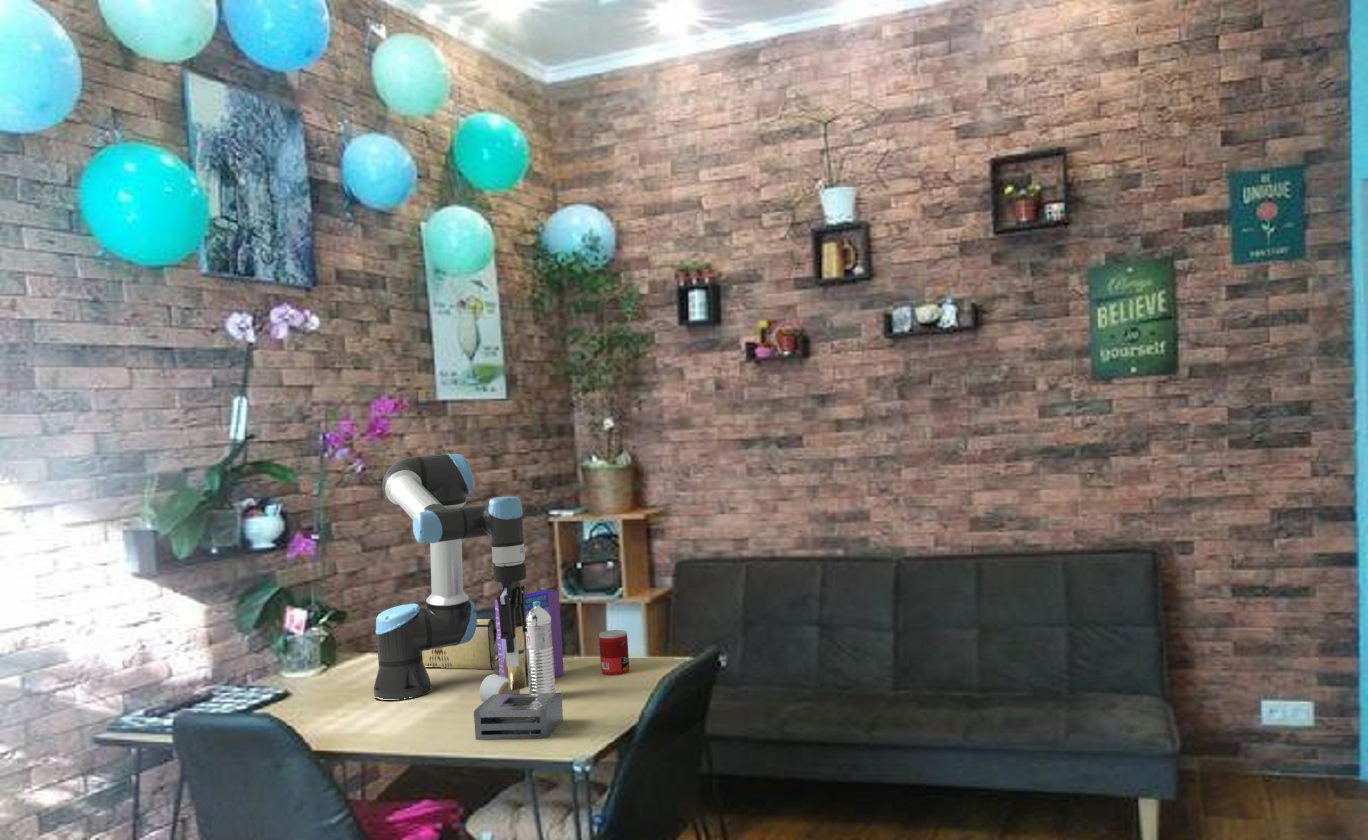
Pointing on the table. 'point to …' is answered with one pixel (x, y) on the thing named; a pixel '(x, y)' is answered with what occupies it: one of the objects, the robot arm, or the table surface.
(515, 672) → the gold domed cylinder
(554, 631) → the cereal box
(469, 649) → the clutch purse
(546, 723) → the collar stand
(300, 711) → the table surface
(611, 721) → the table surface
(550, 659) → the water bottle
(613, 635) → the canned food
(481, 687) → the ceramic mug
